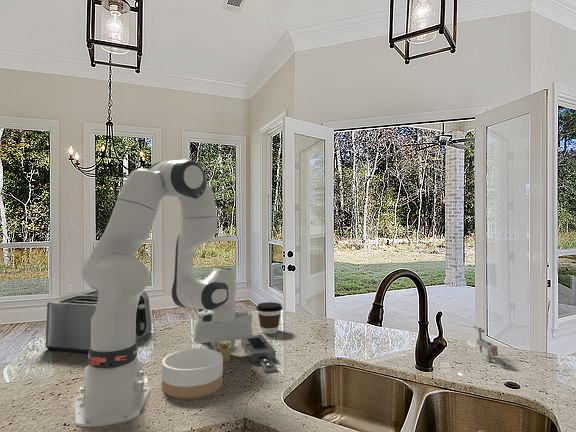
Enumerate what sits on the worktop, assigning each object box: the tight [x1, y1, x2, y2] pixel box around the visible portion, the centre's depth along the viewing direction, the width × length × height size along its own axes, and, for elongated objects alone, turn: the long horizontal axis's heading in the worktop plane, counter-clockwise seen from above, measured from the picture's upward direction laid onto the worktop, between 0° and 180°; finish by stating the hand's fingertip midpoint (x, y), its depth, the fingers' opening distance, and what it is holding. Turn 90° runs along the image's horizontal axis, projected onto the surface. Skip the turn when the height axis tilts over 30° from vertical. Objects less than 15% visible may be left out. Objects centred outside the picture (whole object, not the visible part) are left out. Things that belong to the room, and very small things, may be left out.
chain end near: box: [246, 342, 278, 374], centre depth 129 cm, size 17×8×4 cm, turn 19°
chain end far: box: [240, 334, 269, 354], centre depth 147 cm, size 17×8×4 cm, turn 19°
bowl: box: [161, 347, 224, 399], centre depth 112 cm, size 17×17×8 cm
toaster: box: [44, 288, 153, 354], centre depth 150 cm, size 29×32×19 cm
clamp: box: [473, 325, 499, 363], centre depth 136 cm, size 15×2×10 cm, turn 177°
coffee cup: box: [256, 301, 283, 335], centre depth 163 cm, size 11×11×12 cm
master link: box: [216, 341, 231, 362], centre depth 135 cm, size 11×3×6 cm, turn 18°
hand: (223, 353), depth 135 cm, fingers closed on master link, 3 cm apart
